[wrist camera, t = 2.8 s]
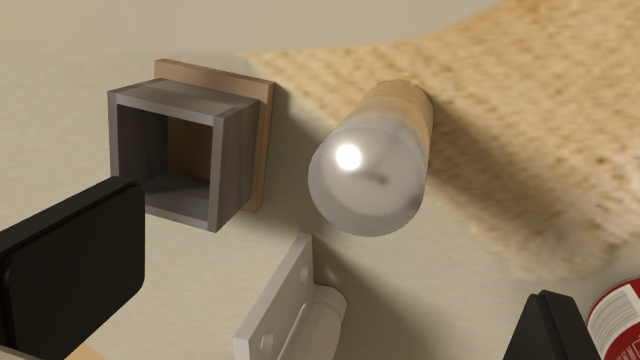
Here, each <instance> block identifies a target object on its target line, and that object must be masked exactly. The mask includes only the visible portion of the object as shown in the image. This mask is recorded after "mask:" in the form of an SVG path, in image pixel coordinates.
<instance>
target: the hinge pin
mask: <svg viewBox="0 0 640 360" xmlns="http://www.w3.org/2000/svg"><path fill="white" fill-rule="evenodd" d="M433 118H434V114H433V107H432V104H431V101H430V99H429V98H428V96H427V95H426V93H425V92H424V91H423V90H422V89H421V88H420V87H418V86H417V85H415V84H413V83H411V82H408V81H405V80H388V81H384V82H382V83H379V84H378V85H376V86H374V87H373V88H372V89H371V90H370V91H369V92H368V93H367V94H366V95H365V96H364V97H363V98H362V99H361V101H360V102H359V103H358V104H357V105H356V106H355V107H354V108H353V109H352V110H351V112H350V113H349V114H348V115H347V116H346V117H345V118H344V119H343V120H342V122H341V123H340V124H339V125H338V126H337V127H336V128H335V129H334V130H333V132H332V133H331V134H330V135H329V136H328V137H327V138H326V139H325V140H324V141H323V143H322V144H321V145H320V146H319V147H318V149H317V150H316V151H315V153H314V155H313V157H312V159H311V162H310V166H309V170H308V186H309V191H310V194H311V198H312V200H313V202H314V204H315V206H316V207H317V209H318V210H319V212H320V213H321V214H322V215H323V216H324V217H325V218H326V219H327V220H328V221H329V222H330V223H331V224H333V225H334V226H336V227H337V228H339V229H341V230H343V231H345V232H347V233H350V234H353V235H358V236H366V237H375V236H382V235H386V234H390V233H392V232H394V231H397V230H398V229H400V228H402V227H403V226H404V225H406V224H407V223H408V222H409V221H410V220H411V219H412V218H413V217H414V215H415V214H416V213H417V211H418V209H419V207H420V205H421V203H422V200H423V196H424V190H425V182H426V174H427V166H428V159H429V151H430V143H431V135H432V127H433Z"/></svg>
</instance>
